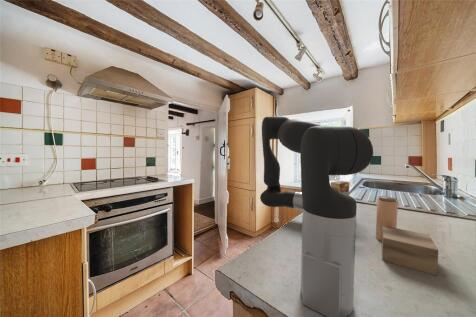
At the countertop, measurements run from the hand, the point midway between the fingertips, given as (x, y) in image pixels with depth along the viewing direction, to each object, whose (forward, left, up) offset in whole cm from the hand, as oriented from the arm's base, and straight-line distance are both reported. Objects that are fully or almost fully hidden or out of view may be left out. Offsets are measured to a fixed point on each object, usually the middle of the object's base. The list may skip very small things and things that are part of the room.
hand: (353, 209), depth 65 cm
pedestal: (-10, -13, -8) cm, 18 cm away
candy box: (+16, +7, -8) cm, 19 cm away
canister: (0, -9, -8) cm, 12 cm away
